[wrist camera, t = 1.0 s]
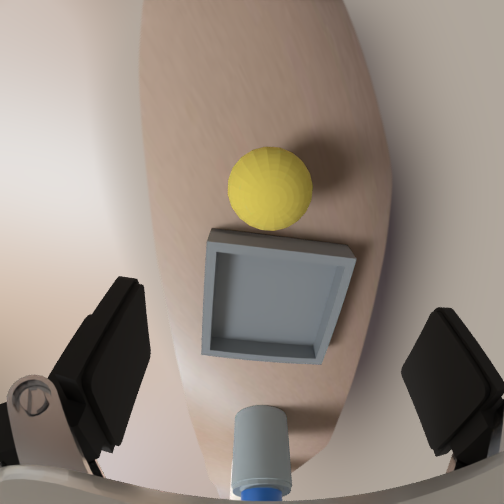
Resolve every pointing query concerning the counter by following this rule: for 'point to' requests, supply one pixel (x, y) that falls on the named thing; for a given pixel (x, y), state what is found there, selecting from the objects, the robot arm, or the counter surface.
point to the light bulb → (270, 188)
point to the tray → (272, 296)
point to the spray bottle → (261, 454)
